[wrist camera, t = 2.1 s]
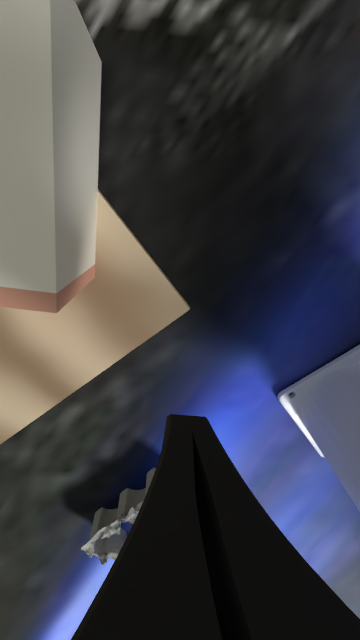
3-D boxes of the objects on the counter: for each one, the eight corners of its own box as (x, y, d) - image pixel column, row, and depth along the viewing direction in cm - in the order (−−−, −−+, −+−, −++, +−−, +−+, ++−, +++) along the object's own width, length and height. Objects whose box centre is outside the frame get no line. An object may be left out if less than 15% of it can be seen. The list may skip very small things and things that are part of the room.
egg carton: (137, 546, 27) (133, 601, 24) (80, 511, 25) (65, 566, 21) (221, 497, 25) (231, 548, 21) (167, 453, 23) (167, 502, 19)
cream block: (94, 277, 16) (101, 62, 12) (56, 313, 10) (48, -60, 7) (14, 266, 16) (-3, 40, 12) (-70, 298, 10) (-151, -109, 6)
